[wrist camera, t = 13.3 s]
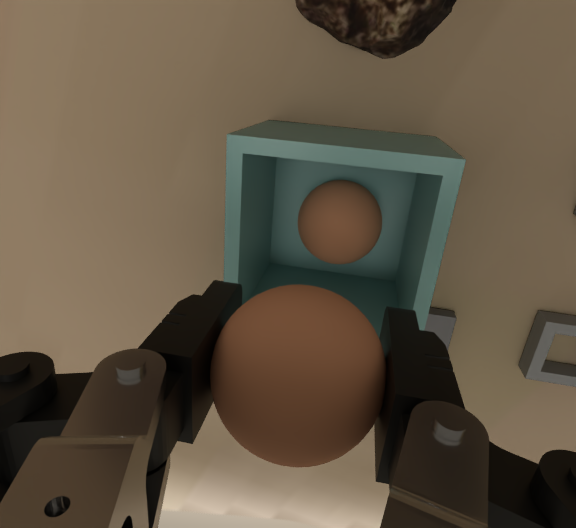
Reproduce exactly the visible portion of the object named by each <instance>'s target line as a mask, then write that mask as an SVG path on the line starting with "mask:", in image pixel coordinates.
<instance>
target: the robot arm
mask: <svg viewBox="0 0 576 528" xmlns="http://www.w3.org/2000/svg"><path fill="white" fill-rule="evenodd" d="M241 306H242V285H241V284H238V283H231V282H224V281H218V280H214V281H213V282H212V283H211V285H210V286H209V287H208V289H207V290H206V291H205V292H204V294H203V295H202V296H201V295H194V294H193V295H191V296H189V297H187V298H185V299H183V300H181V301H179V302H178V303H177V304H176V305H175V306H174V307H173V309H172V310H171V311H170V312H169V314H167V315H166V317H165V318H164V319H163V320H162V323H159V325H158V326H157V327H156V328H155V329H154V330H153V331H152V333H151V334H150V335H149V336H148V337H147V338H146V339H145V341H144V342H143V343H142V344H141V345H140V346H139V347H138V349H128V350H123V351H119V352H116V353H114V354H112V355H110V356H108V357H106V358H105V359H103V360H102V361H101V362H100V363H99V364H98V365H97V367H96V368H95V370H94V372H89V373H70V374H55V368H54V363H53V360H52V359H51V358H50V357H49V356H47V355H45V354H43V353H38V352H19V353H13V354H9V355H5V356H2V357H0V528H158V524H159V519H160V514H161V509H162V504H163V499H164V494H165V489H166V484H167V479H168V474H169V469H170V454H171V452H172V450H173V448H174V446H175V444H176V442H177V441H181V442H186V443H191V444H193V442H194V440H195V438H196V436H197V434H198V432H199V430H200V428H201V426H202V424H203V422H204V420H205V418H206V415H207V413H208V411H209V409H210V407H211V405H212V403H213V401H214V400H213V396H212V391H211V384H210V368H211V359H212V355H213V351H214V347H215V344H216V341H217V339H218V337H219V335H220V332H221V330H222V329H223V327H224V326H225V324H226V322H227V321H228V320H229V318H230V317H231V316H232V315H233V314H234V312H235V311H236V310H237V309H238V308H240V307H241ZM379 340H380V342H381V345H382V348H383V350H384V355H385V360H386V384H385V393H384V399H383V404H382V408H381V411H380V413H379V415H378V417H377V419H376V421H375V423H374V424H375V471H376V482H381V483H386V484H389V489H390V493H389V497H388V500H387V504H386V508H385V512H384V515H383V519H382V523H381V527H380V528H576V452H573V451H568V450H552V451H549V452H547V453H545V454H544V455H543V456H542V458H541V459H540V462H539V464H537V463H534V462H532V461H530V460H527V459H525V458H522V457H520V456H517V455H515V454H513V453H510V452H508V451H506V450H504V449H501V448H500V447H498V446H496V445H494V444H493V443H491V442H490V441H489V436H488V433H487V431H486V429H485V427H484V426H483V424H482V423H481V422H480V421H479V420H478V419H477V418H476V417H475V416H474V415H473V414H471V413H470V412H468V411H467V410H465V407H464V404H463V400H462V397H461V394H460V390H459V387H458V384H457V381H456V377H455V374H454V372H453V367H452V364H451V361H449V359H450V358H449V354H448V351H447V348H446V345H445V344H444V342H443V341H442V340H441V339H440V338H439V337H438V336H437V335H436V334H435V333H434V332H430V331H423V330H419V325H418V321H417V316H416V312H415V310H409V309H402V308H395V307H389V306H387V307H386V309H385V312H384V317H383V322H382V327H381V332H380V337H379Z"/></svg>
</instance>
